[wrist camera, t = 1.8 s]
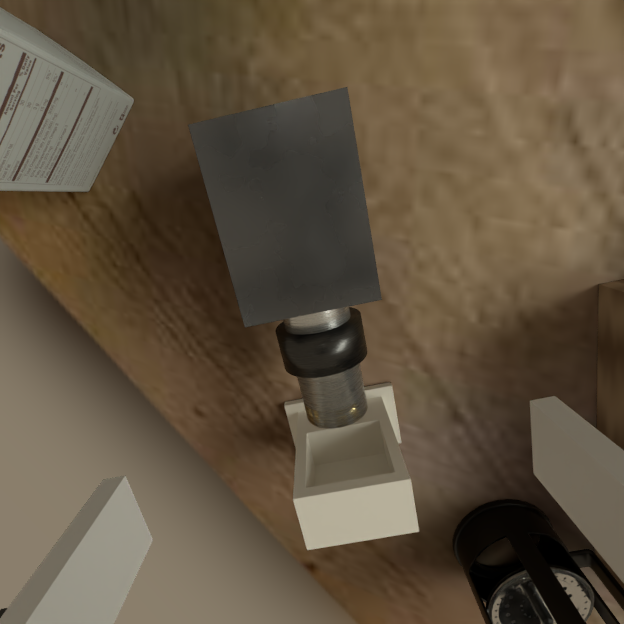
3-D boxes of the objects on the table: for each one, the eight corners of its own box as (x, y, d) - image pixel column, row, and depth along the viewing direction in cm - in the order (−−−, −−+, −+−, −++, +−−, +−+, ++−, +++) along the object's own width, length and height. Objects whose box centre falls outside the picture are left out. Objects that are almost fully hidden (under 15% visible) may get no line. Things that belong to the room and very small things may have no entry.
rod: (241, 164, 22) (221, 154, 17) (326, 144, 22) (331, 128, 17) (299, 396, 27) (296, 441, 22) (370, 383, 27) (384, 425, 22)
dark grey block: (216, 143, 26) (160, 111, 16) (345, 113, 25) (367, 61, 15) (256, 295, 29) (229, 344, 19) (372, 271, 28) (403, 309, 19)
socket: (284, 402, 31) (273, 491, 22) (390, 382, 31) (426, 464, 21) (299, 456, 33) (294, 562, 23) (399, 438, 32) (437, 539, 23)
